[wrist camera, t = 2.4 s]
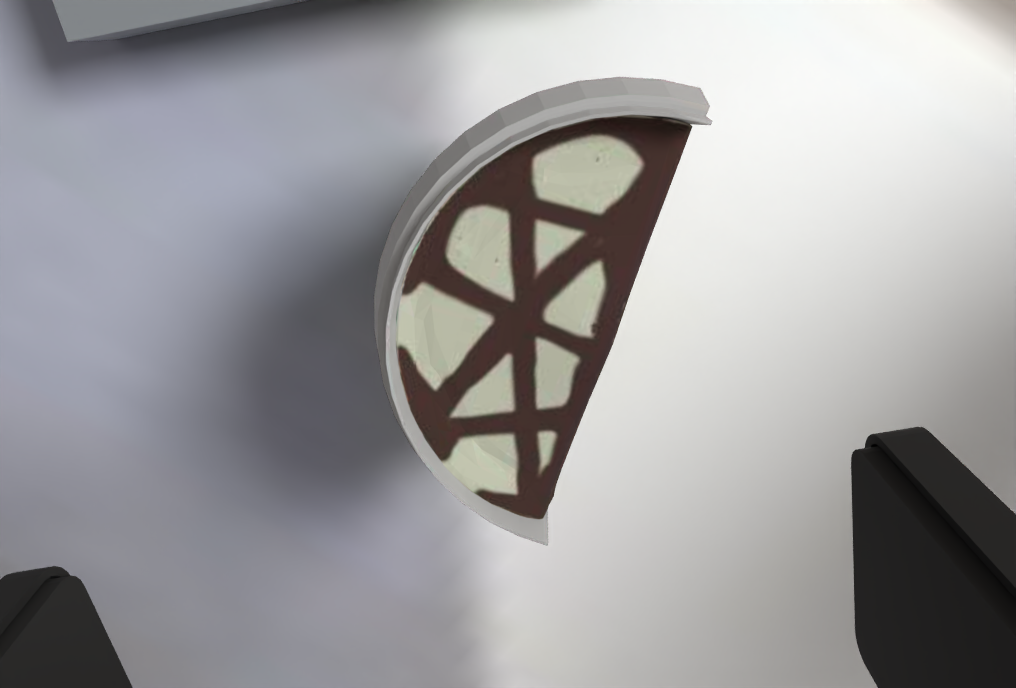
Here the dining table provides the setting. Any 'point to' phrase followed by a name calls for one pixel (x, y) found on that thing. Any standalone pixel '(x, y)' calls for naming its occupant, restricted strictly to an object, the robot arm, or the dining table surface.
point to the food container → (522, 282)
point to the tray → (146, 15)
